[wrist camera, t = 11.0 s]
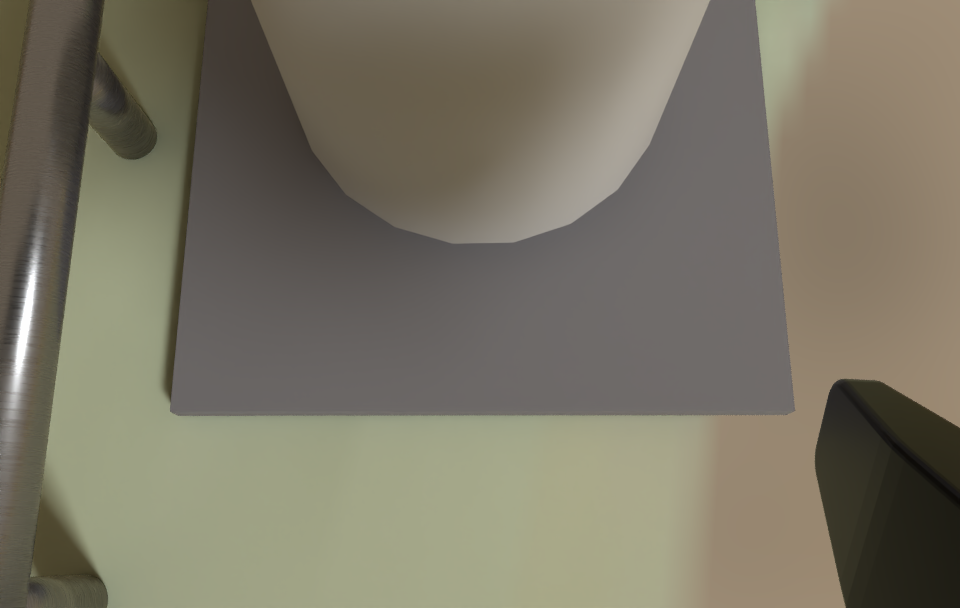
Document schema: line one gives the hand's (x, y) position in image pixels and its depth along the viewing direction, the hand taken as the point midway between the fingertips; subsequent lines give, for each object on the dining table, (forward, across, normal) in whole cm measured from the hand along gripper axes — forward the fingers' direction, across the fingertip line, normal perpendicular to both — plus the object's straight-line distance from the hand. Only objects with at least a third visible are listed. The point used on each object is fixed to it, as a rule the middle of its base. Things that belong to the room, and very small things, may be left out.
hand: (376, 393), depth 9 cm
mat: (+12, 0, 0) cm, 12 cm away
